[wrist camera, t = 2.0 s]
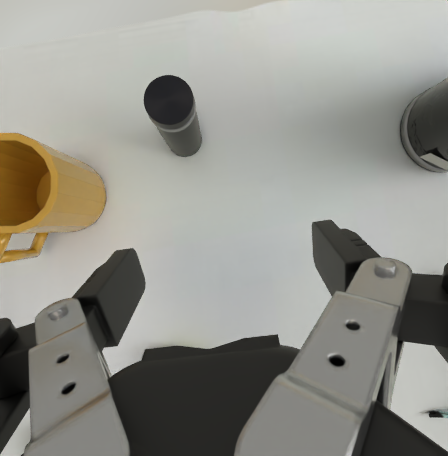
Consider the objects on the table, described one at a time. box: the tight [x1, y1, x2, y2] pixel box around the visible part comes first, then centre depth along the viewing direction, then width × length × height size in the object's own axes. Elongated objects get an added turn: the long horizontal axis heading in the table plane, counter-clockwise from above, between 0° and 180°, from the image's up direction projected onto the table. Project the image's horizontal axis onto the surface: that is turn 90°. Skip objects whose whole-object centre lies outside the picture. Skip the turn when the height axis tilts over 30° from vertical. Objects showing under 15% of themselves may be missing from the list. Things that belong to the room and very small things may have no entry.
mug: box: [0, 133, 106, 263], centre depth 26 cm, size 11×8×9 cm
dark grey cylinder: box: [144, 75, 202, 157], centre depth 26 cm, size 4×4×10 cm
